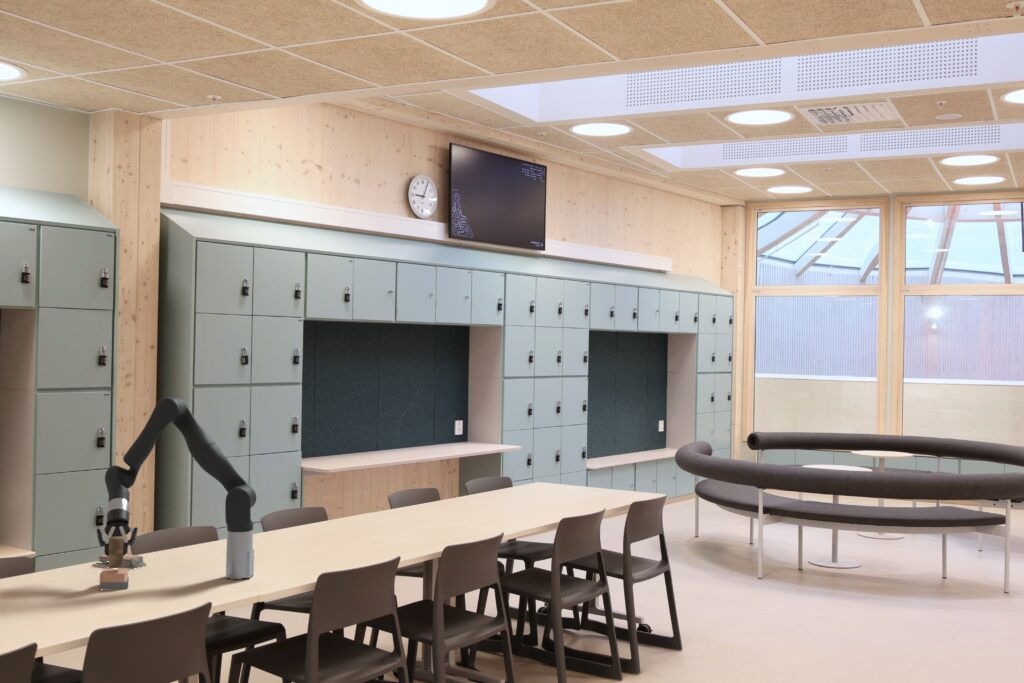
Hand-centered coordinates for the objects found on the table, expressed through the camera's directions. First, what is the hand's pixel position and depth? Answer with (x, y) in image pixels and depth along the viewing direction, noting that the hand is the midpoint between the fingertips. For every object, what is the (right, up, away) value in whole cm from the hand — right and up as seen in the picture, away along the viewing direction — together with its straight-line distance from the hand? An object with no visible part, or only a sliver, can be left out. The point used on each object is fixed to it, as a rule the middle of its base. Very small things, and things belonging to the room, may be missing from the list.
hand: (116, 554), depth 336 cm
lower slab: (-1, -12, +2) cm, 12 cm away
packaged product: (-12, -12, +34) cm, 38 cm away
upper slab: (-1, -9, +1) cm, 9 cm away
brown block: (-1, -5, +2) cm, 5 cm away
